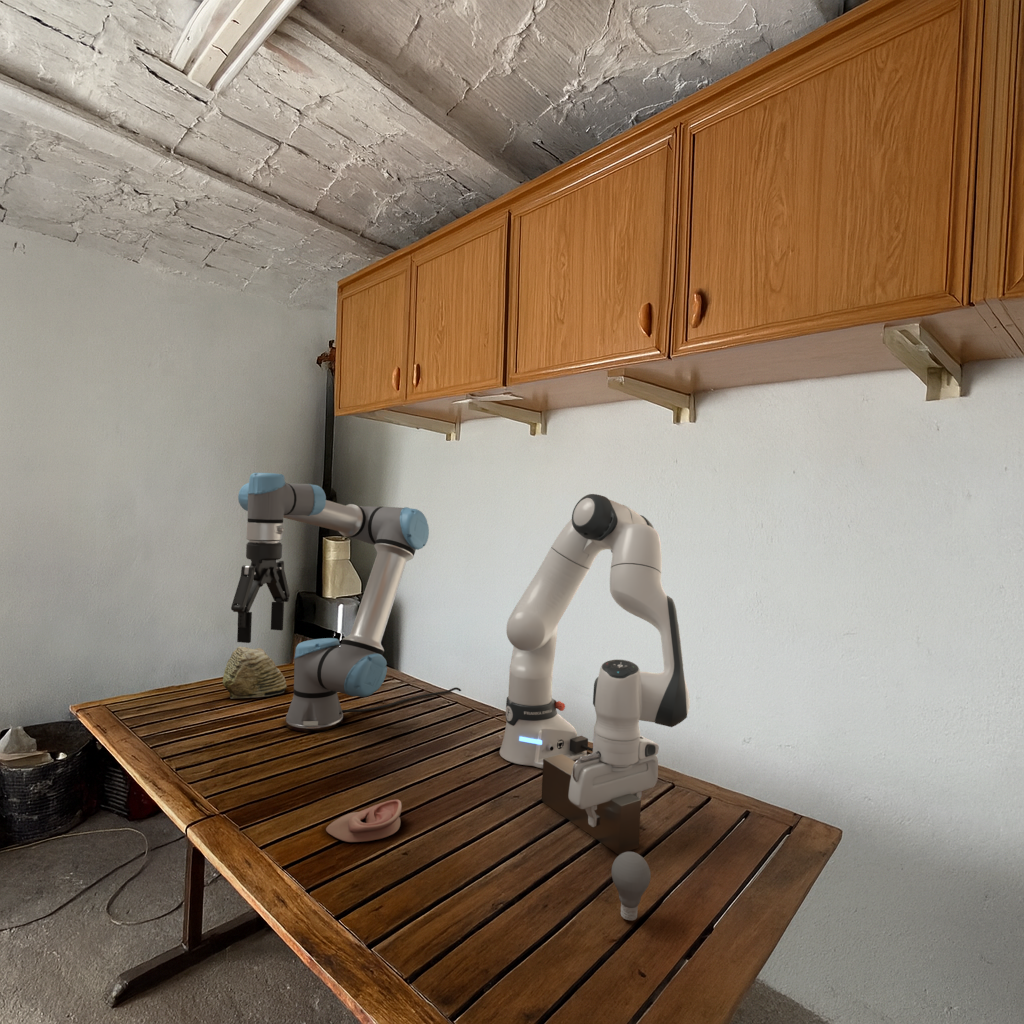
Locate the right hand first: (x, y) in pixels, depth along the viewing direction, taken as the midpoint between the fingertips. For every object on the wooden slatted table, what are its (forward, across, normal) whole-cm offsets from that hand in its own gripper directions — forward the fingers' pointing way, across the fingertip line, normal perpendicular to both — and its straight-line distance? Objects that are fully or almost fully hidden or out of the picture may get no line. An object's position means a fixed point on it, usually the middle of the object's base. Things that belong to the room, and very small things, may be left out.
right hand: (612, 819), depth 121 cm
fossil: (+4, -40, +119) cm, 126 cm away
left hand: (-27, -52, +61) cm, 85 cm away
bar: (+4, 0, +7) cm, 8 cm away
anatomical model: (+4, -39, +27) cm, 48 cm away
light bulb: (+4, -14, -18) cm, 23 cm away
